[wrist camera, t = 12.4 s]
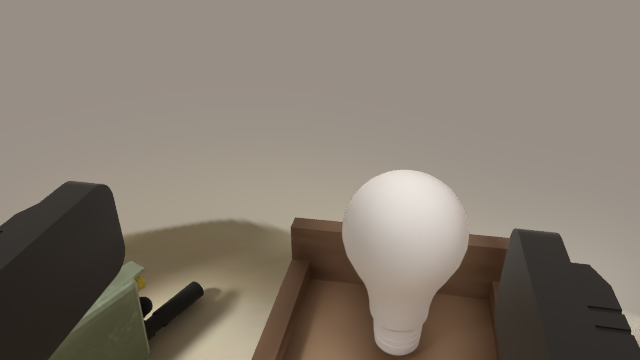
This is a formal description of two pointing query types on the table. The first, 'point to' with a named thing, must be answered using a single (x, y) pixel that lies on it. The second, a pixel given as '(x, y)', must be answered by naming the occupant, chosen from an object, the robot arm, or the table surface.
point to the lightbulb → (404, 250)
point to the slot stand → (354, 310)
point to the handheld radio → (123, 320)
